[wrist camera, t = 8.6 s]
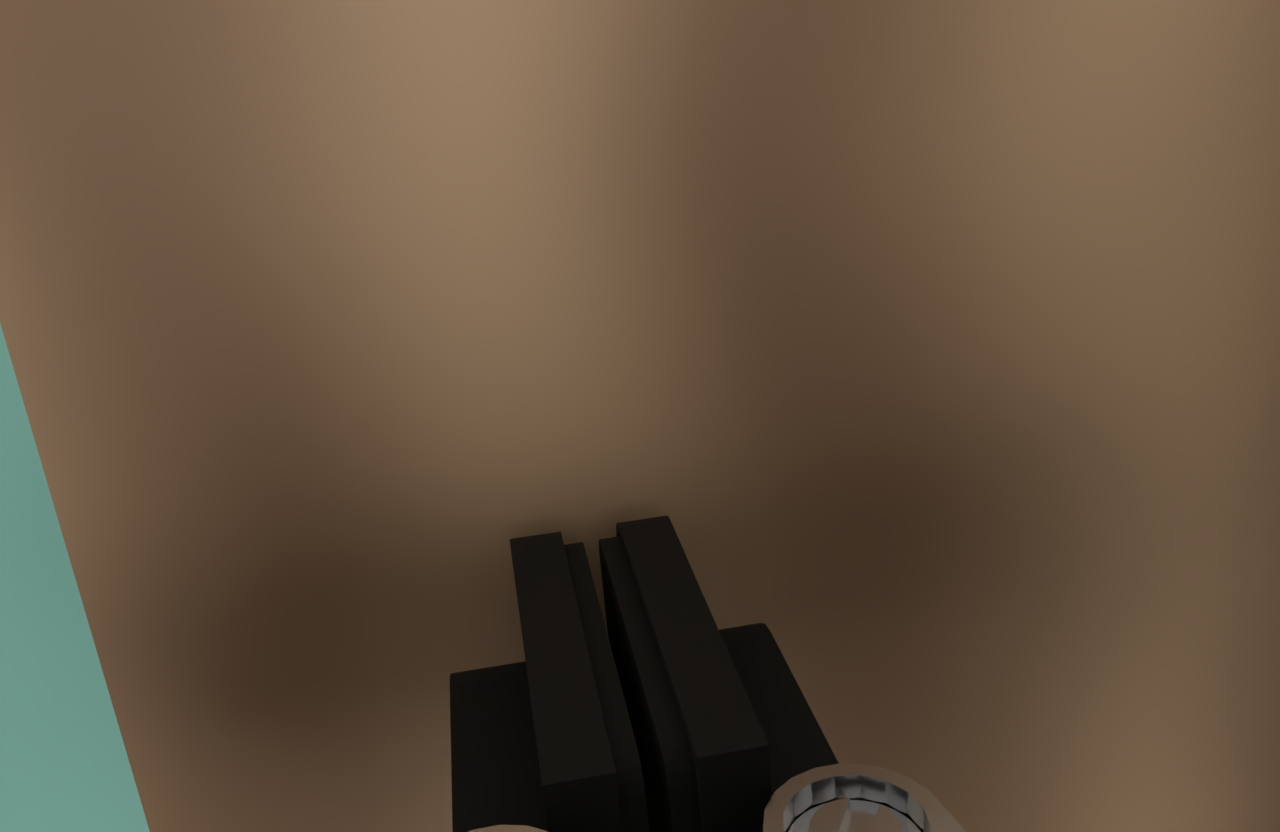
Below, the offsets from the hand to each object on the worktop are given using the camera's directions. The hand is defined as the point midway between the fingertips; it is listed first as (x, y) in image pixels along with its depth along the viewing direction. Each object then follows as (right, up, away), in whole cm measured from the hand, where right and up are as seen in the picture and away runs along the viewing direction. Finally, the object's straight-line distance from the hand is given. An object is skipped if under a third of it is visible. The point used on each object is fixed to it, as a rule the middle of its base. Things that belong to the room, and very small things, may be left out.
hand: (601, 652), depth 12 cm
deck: (+2, +2, +4) cm, 5 cm away
